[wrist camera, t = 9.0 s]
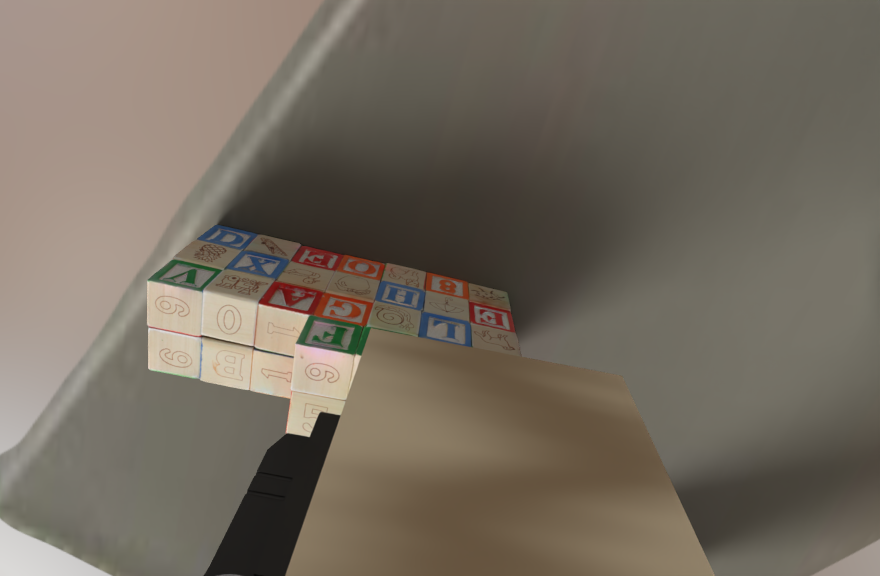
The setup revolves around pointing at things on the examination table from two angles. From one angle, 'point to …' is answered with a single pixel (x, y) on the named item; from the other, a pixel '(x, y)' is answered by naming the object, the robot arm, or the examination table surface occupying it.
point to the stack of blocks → (302, 317)
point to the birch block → (490, 473)
